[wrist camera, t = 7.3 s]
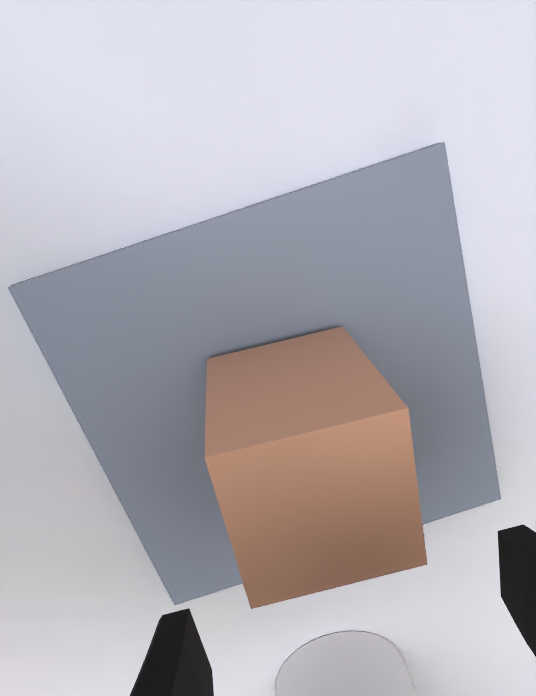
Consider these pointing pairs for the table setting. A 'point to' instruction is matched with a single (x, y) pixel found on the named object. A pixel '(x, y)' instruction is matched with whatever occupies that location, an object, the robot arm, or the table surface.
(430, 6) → the table surface
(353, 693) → the cylindrical container
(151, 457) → the flat grey square board
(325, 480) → the tan rectangular block
